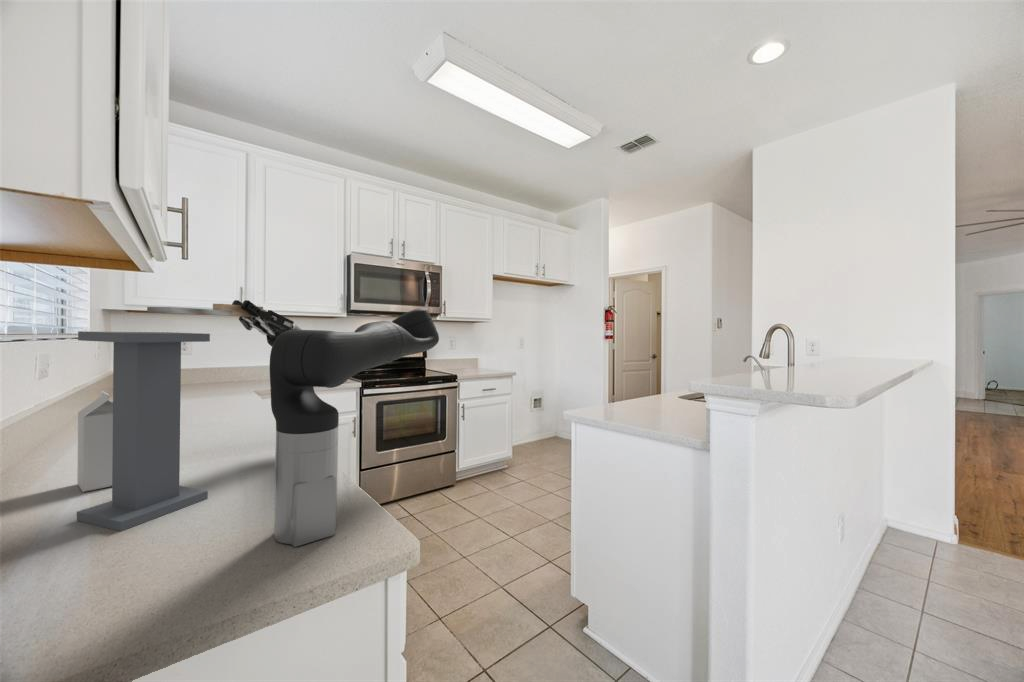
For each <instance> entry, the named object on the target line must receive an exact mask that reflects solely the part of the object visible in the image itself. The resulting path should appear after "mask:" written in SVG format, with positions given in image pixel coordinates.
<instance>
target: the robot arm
mask: <svg viewBox="0 0 1024 682" xmlns="http://www.w3.org/2000/svg"><path fill="white" fill-rule="evenodd" d="M231 305H242V306H241V308H242V309H243V310H244V311H246V312H247V313H249V314H250V315H252V316H253V317H242V316H238V321H239V322H240V323H241V325H242V326H243V327H244V328H245V329H246V330H247V331H252V330H253V329H255V330H257V331H258V333H260V334H262V335H263V336H266V341H267V344H268V345H269V346H270V347H271V351H270V353H269V354H270V356H269V383H270V384H269V385H270V405H271V406H270V407H271V408H270V409H271V413H272V415H273V417H274V421H275V452H274V454H275V456H274V457H275V458H274V459H275V461H274V465H275V466H274V473H275V474H274V528H273V529H274V531H273V532H274V533H273V534H274V535H273V536H274V539H275V540H276V541H277V542H279V543H281V544H287V545H292V546H293V547H295V548H296V547H299V546H302V545H305V544H309V543H312V542H315V541H319V540H322V539H326V538H329V537H332V536H335V535H336V529H337V519H338V517H337V516H338V515H337V513H338V467H339V466H338V465H339V463H338V462H339V460H338V459H339V457H338V456H339V455H338V454H339V421H340V420H339V411H338V409H337V408H336V407H335V406H333V405H331V404H329V403H327V402H326V401H324V400H322V399H321V398H320V397H319V396H318V394H316V392H315V387H316V388H317V387H318V388H326V389H329V388H330V389H333V388H337V387H339V386H341V385H343V384H344V383H346V382H347V381H348V380H349V379H350V378H352V377H353V376H355V375H358V374H359V373H361V372H363V371H365V370H369V369H373V368H376V367H380V366H383V365H386V364H389V363H391V362H394V361H396V360H399V359H401V358H404V357H406V356H410V355H411V356H412V355H416V354H421V353H424V352H427V351H429V350H431V349H433V348H434V347H435V346H437V345H438V344H439V340H440V337H439V332H438V330H437V327H436V325H435V323H434V321H433V318H432V316H431V314H430V312H429V310H428V309H427V308H424V307H423V308H422V307H419V308H416V309H413V310H410V311H407V312H405V313H403V314H401V315H400V316H398V317H397V318H395V319H393V320H391V321H389V320H379V321H372V322H368V323H364V324H362V325H360V326H358V327H357V328H356V329H355V330H354V331H352V332H350V331H349V332H348V331H347V332H345V331H344V332H343V331H335V330H334V331H333V330H324V329H323V330H320V329H319V330H318V329H302V328H300V327H299V326H298V325H296V324H295V323H294V320H292V319H289V318H287V317H285V316H283V315H281V314H279V313H277V312H275V311H273V310H272V309H268V310H266V309H264V308H263V309H260V308H258V307H259V306H258V305H256V304H254V303H253V302H251V301H250V300H247V299H245V300H243V302H241V301H240V300H239V299H235V300H233V302H232V303H231ZM257 306H258V307H257Z"/></svg>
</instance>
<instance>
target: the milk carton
mask: <svg viewBox="0 0 1024 682" xmlns="http://www.w3.org/2000/svg"><path fill="white" fill-rule="evenodd" d="M112 457H113V400H110V394H109V393H107V392H106V391H104V390H102V391H101V396H100V397H98V398H96V399H95V400H94V401H92V402H91V403H90V404H88V405H86V406H85V407H83V408H82V409H80V410H79V411H77V485H78V487H79V488H80V490H81V492H83V493H84V492H89V491H95V490H101V489H104V488H108V487H109V488H110V487H112Z"/></svg>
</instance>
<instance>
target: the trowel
mask: <svg viewBox="0 0 1024 682" xmlns="http://www.w3.org/2000/svg"><path fill="white" fill-rule="evenodd" d="M241 306H242V305H232V303H231V304H230V303H229V304H228V303H212V309H207V308H194V307H191V308H190V307H176V306H147V307H146V308H147V309H146V311H147V312H146V313H151V314H153V313H158V314H174V315H175V314H177V315H181V314H182V315H198V316H223V317H226V316H227V317H240V316H242V317H253V316H252V315H250V314H249V313H247V312H246V311H244V310H243V309H242V308H241ZM256 306H257V307H258V308H260V309H264V307H263V306H258V305H256Z"/></svg>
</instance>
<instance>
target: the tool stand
mask: <svg viewBox="0 0 1024 682" xmlns="http://www.w3.org/2000/svg"><path fill="white" fill-rule="evenodd" d="M77 341H84V342H85V341H86V342H103V343H105V342H107V343H113V351H112V352H113V355H112V356H113V357H112V358H113V360H112V361H113V362H112V365H113V368H112V369H113V371H112V373H113V375H112V378H113V380H112V401H113V457H112V486H111V490H112V491H111V500H110V501H107V502H103V503H100V504H97V505H94V506H91V507H87V508H85V509H81V510H77V511H76V521H77V522H82V523H86V524H89V525H93V526H98V527H102V528H107V529H110V530H114V531H119V532H123V531H125V530H128V529H131V528H133V527H136V526H139V525H141V524H143V523H146V522H149V521H153V520H154V519H157V518H160V517H162V516H163V517H164V516H165V515H168V514H170V513H174V512H175V511H178V510H180V509H183V508H186V507H189V506H191V505H194V504H197V503H199V502H202V501H205V500H207V499H208V495H209V491H208V490H206V489H199V488H195V487H194V488H193V487H189V486H184V485H183V486H182V485H180V468H181V467H180V465H181V463H180V458H181V457H180V455H181V450H180V449H181V390H182V389H181V388H182V387H181V386H182V385H181V383H182V382H181V377H182V376H181V375H182V374H181V373H182V372H181V371H182V370H181V369H182V343H192V342H193V343H195V342H196V343H197V342H198V343H199V342H201V343H202V342H204V343H205V342H210V341H211V334H210V333H198V332H197V333H196V332H173V331H172V332H168V331H167V332H166V331H165V332H164V331H163V332H162V331H161V332H159V331H155V332H154V331H77Z"/></svg>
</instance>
